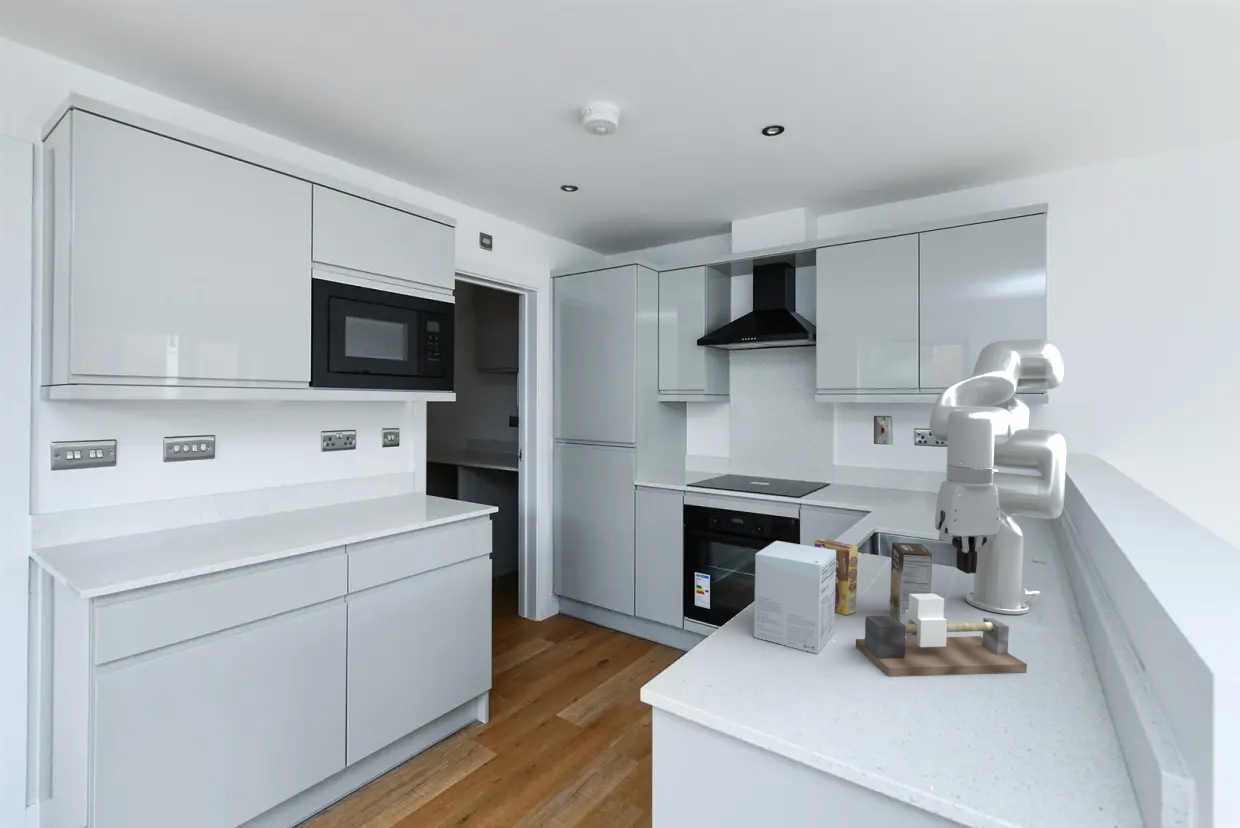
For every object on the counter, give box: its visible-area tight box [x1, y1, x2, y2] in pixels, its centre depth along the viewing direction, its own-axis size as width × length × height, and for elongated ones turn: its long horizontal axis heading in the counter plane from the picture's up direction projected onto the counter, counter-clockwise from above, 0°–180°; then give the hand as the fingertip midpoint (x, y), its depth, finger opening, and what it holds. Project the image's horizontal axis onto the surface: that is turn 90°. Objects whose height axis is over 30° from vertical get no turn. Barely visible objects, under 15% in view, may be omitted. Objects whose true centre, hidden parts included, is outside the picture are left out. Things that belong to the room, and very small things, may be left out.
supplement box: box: [752, 540, 836, 655], centre depth 119 cm, size 13×13×18 cm
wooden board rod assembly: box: [855, 614, 1028, 677], centre depth 110 cm, size 26×12×8 cm, turn 95°
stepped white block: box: [905, 592, 948, 647], centre depth 109 cm, size 5×5×8 cm
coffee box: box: [889, 542, 934, 624], centre depth 129 cm, size 9×6×16 cm
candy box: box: [814, 538, 859, 616], centre depth 135 cm, size 9×4×15 cm, turn 39°
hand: (966, 570), depth 110 cm, fingers closed
